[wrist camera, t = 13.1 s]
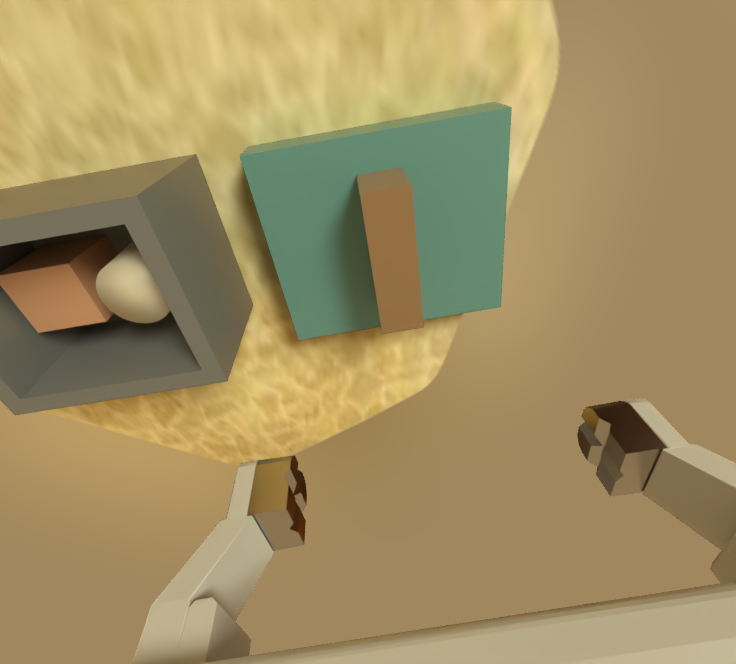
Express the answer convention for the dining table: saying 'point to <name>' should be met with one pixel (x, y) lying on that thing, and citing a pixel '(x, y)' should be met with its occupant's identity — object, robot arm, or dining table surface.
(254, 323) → the dining table surface
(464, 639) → the robot arm
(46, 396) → the storage box
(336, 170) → the lid
